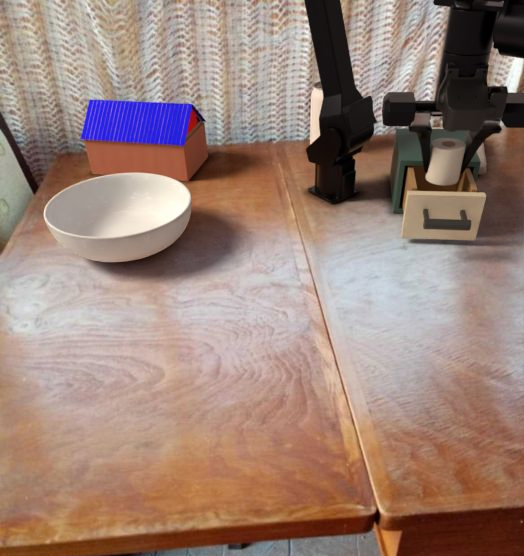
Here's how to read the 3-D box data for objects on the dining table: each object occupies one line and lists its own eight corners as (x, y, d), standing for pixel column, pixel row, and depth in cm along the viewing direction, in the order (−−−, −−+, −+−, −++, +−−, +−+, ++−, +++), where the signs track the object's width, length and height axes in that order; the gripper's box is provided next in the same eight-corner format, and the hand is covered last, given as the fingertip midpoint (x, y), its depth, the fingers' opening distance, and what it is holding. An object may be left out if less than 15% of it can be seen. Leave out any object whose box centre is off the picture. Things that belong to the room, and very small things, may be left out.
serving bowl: (173, 287, 73) (165, 242, 68) (31, 276, 76) (15, 232, 71) (211, 214, 88) (207, 173, 83) (91, 208, 91) (81, 168, 87)
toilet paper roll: (418, 178, 78) (424, 143, 75) (439, 169, 80) (445, 134, 77) (444, 188, 75) (451, 152, 72) (465, 179, 77) (473, 143, 74)
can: (340, 156, 104) (345, 90, 96) (307, 155, 105) (309, 89, 97) (343, 144, 108) (348, 80, 100) (312, 143, 110) (313, 79, 102)
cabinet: (468, 215, 85) (481, 161, 79) (393, 213, 86) (400, 160, 80) (456, 178, 95) (467, 129, 89) (389, 177, 96) (395, 128, 90)
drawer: (480, 257, 74) (492, 211, 69) (403, 254, 75) (410, 209, 71) (462, 201, 86) (472, 159, 82) (396, 199, 88) (402, 158, 83)
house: (189, 182, 98) (180, 115, 90) (89, 174, 102) (73, 110, 94) (210, 156, 106) (203, 93, 98) (117, 150, 110) (104, 89, 103)
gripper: (392, 67, 62) (378, 195, 72) (564, 67, 59) (524, 199, 70) (388, 44, 70) (376, 162, 80) (539, 43, 68) (506, 164, 78)
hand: (442, 172), depth 77 cm, fingers closed on toilet paper roll, 4 cm apart
